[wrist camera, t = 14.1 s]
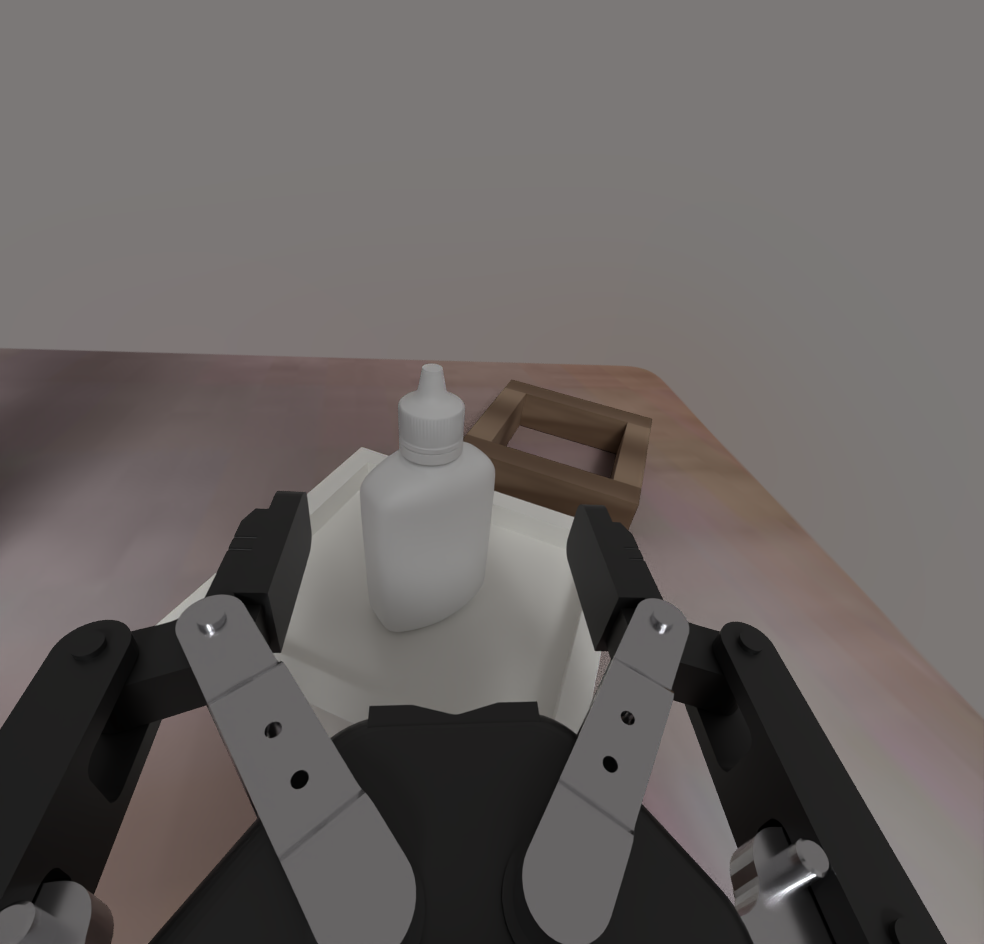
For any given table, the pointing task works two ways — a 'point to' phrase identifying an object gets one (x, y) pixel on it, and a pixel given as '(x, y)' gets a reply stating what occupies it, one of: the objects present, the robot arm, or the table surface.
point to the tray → (448, 643)
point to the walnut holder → (573, 422)
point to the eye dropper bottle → (427, 512)
